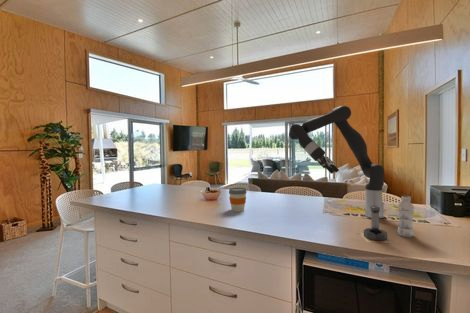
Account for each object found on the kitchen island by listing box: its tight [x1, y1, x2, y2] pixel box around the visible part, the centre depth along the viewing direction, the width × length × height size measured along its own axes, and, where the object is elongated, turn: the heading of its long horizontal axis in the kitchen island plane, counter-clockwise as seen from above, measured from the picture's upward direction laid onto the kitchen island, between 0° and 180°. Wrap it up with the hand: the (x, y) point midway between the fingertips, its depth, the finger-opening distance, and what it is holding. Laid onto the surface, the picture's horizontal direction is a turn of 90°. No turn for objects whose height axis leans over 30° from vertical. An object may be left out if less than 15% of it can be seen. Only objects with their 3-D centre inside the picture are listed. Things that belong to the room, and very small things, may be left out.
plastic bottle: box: [396, 195, 415, 238], centre depth 119 cm, size 6×7×20 cm
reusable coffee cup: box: [228, 187, 247, 212], centre depth 175 cm, size 13×13×15 cm
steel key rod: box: [370, 206, 380, 233], centre depth 116 cm, size 4×4×15 cm
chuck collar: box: [363, 227, 388, 241], centre depth 116 cm, size 9×9×3 cm
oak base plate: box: [356, 232, 396, 244], centre depth 116 cm, size 12×12×1 cm
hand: (335, 172), depth 133 cm, fingers open, 8 cm apart
